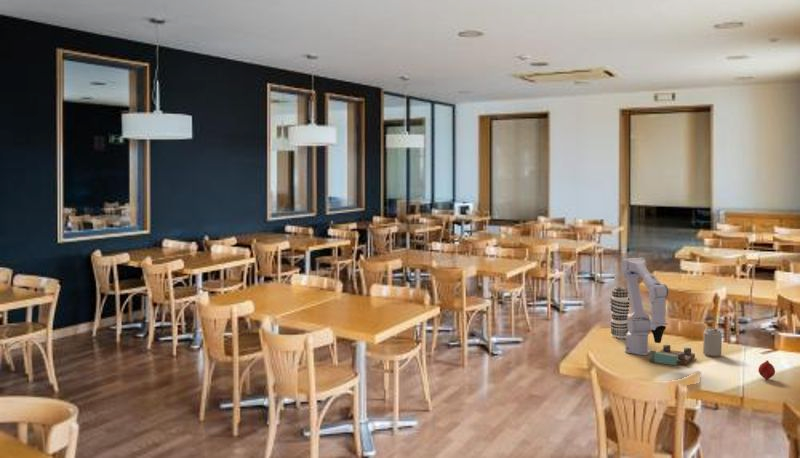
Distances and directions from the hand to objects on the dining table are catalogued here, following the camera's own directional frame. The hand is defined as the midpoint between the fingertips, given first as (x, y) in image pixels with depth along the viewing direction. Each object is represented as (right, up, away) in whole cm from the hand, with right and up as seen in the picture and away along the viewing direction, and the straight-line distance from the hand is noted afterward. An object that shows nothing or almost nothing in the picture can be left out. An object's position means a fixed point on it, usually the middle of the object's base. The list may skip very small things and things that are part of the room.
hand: (657, 342), depth 290 cm
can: (+29, -8, +11) cm, 32 cm away
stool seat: (+10, -9, +6) cm, 14 cm away
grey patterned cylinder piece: (-1, -5, +47) cm, 47 cm away
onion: (+35, -11, -23) cm, 43 cm away
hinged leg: (+3, -9, +1) cm, 10 cm away
